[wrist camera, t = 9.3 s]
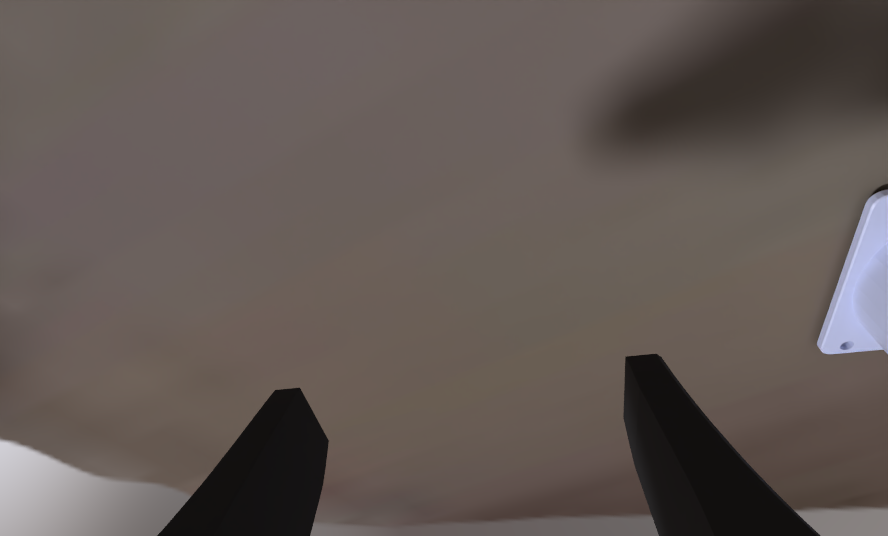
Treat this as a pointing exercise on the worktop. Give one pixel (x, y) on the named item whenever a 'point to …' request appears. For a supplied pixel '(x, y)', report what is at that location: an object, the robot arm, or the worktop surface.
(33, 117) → the worktop surface
